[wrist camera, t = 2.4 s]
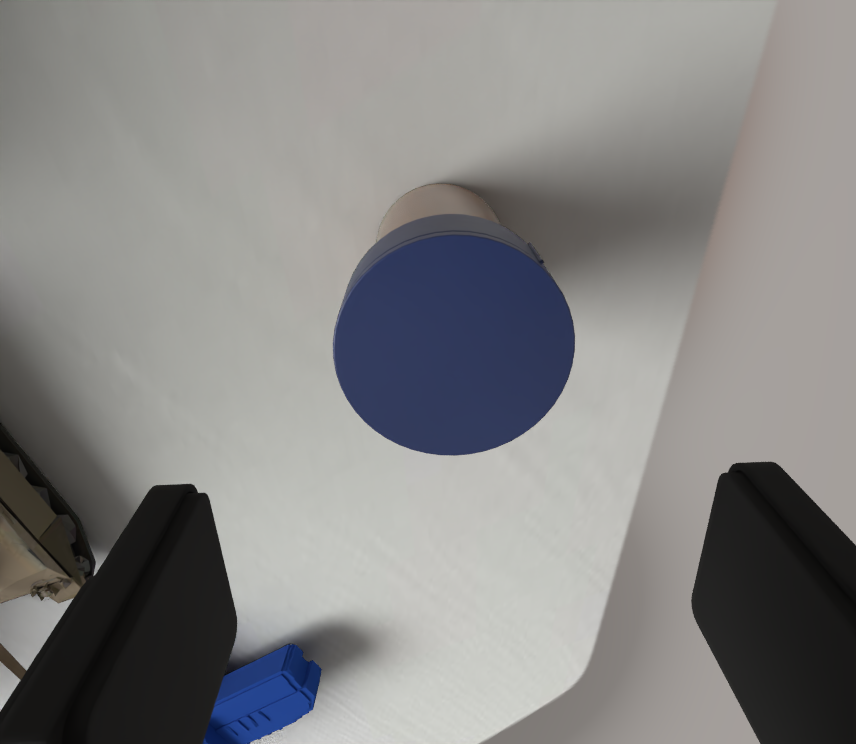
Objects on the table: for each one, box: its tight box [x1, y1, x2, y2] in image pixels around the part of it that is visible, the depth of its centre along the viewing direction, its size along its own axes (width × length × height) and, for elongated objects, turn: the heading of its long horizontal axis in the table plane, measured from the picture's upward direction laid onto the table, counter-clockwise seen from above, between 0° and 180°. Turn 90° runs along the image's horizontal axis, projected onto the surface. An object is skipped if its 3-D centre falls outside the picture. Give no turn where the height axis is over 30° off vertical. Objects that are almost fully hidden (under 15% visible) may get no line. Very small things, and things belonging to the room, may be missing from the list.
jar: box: [375, 184, 502, 244], centre depth 21 cm, size 5×5×10 cm
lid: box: [333, 214, 575, 455], centre depth 17 cm, size 6×6×2 cm
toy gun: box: [203, 644, 322, 744], centre depth 36 cm, size 4×22×10 cm
